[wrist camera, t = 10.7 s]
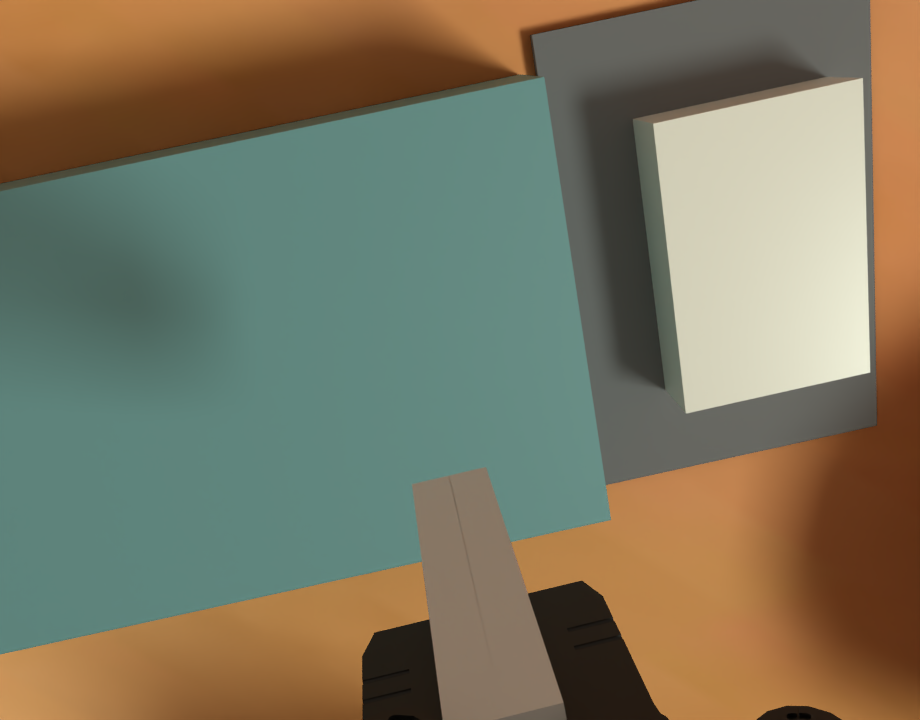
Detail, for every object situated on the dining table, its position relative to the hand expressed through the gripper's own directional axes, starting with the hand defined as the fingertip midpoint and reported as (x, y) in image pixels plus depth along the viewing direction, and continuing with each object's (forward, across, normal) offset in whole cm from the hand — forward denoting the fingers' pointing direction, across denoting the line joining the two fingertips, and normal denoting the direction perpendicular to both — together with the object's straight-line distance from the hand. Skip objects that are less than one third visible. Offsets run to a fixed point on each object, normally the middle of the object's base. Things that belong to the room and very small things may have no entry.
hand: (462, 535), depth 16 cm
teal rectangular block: (+11, -5, +2) cm, 13 cm away
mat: (+11, +10, +2) cm, 15 cm away
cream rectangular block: (+9, +11, +2) cm, 14 cm away
